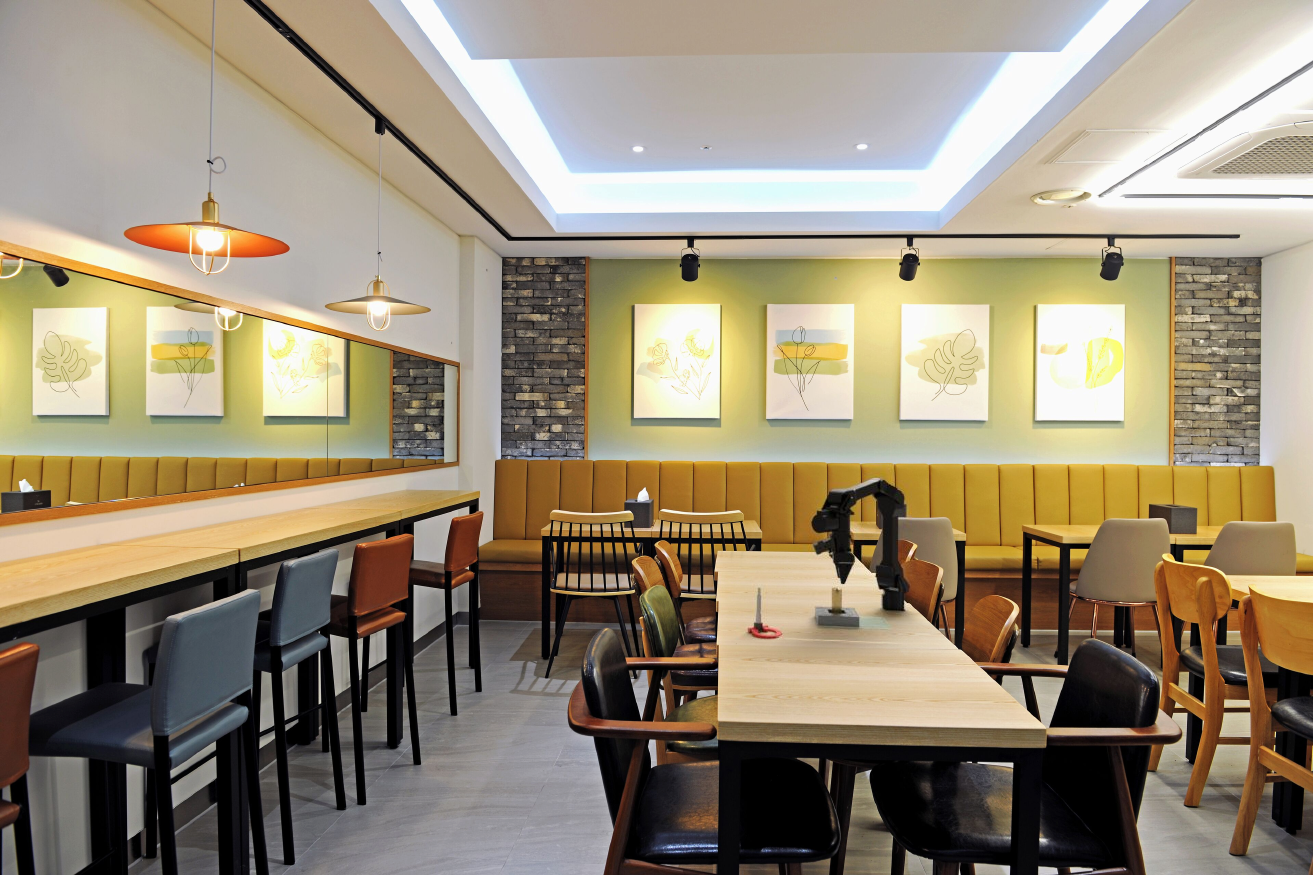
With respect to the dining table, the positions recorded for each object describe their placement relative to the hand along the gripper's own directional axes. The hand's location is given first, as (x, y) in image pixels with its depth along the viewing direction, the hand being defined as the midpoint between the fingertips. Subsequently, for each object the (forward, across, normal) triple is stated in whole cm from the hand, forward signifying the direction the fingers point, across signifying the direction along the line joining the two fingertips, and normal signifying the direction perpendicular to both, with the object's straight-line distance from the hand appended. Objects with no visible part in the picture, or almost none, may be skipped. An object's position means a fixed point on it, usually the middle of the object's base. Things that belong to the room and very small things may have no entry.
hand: (841, 580), depth 226 cm
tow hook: (+12, +19, -23) cm, 33 cm away
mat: (+12, +2, +3) cm, 13 cm away
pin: (+12, +2, -2) cm, 12 cm away
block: (+12, +2, -2) cm, 12 cm away
